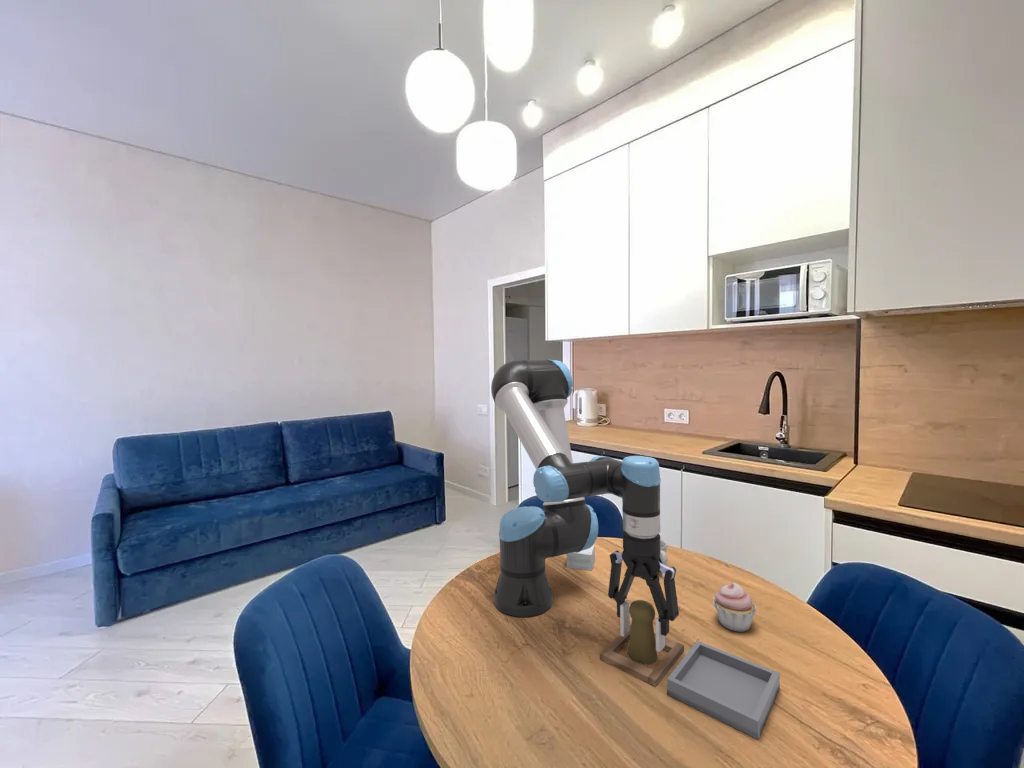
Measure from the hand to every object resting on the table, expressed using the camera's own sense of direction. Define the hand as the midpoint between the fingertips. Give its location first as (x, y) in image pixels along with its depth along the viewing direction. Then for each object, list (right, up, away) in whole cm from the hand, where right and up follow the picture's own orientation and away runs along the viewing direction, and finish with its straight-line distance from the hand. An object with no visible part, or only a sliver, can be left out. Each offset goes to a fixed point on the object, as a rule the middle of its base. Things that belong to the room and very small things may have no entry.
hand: (642, 640), depth 92 cm
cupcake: (+24, -2, +10) cm, 27 cm away
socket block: (0, -3, 0) cm, 3 cm away
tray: (+12, -3, -11) cm, 16 cm away
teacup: (+14, -2, +39) cm, 41 cm away
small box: (-6, -2, +44) cm, 44 cm away
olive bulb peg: (0, -3, 0) cm, 3 cm away
